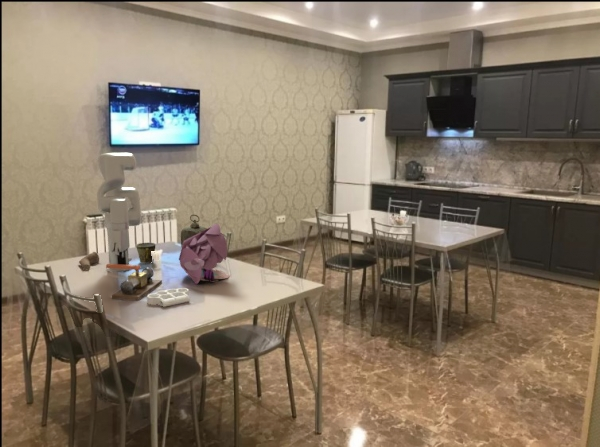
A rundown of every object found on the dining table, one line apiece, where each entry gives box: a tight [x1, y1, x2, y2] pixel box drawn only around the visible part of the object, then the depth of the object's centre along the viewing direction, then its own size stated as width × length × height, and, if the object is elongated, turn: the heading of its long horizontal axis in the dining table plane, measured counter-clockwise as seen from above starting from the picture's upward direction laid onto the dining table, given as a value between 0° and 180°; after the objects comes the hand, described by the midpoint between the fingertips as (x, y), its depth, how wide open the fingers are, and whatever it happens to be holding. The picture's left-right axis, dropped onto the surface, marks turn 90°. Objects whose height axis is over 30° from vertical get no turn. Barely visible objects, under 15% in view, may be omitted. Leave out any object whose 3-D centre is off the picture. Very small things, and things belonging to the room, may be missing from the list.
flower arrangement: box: [178, 223, 230, 285], centre depth 240 cm, size 35×24×28 cm
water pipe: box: [119, 267, 155, 294], centre depth 219 cm, size 22×6×8 cm, turn 172°
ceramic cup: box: [135, 242, 157, 265], centre depth 264 cm, size 13×10×10 cm
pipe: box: [78, 251, 100, 271], centre depth 258 cm, size 6×17×10 cm
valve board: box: [111, 279, 163, 301], centre depth 220 cm, size 24×12×2 cm, turn 172°
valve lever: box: [105, 263, 141, 271], centre depth 219 cm, size 3×15×1 cm, turn 82°
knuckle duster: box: [146, 287, 191, 308], centre depth 208 cm, size 3×18×15 cm
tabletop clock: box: [180, 214, 208, 248], centre depth 274 cm, size 14×9×25 cm, turn 58°
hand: (122, 265), depth 225 cm, fingers closed
